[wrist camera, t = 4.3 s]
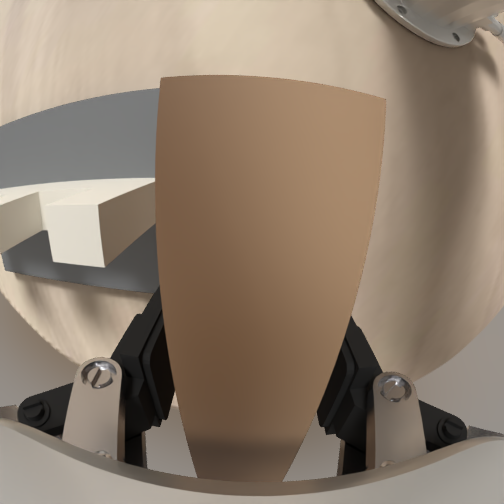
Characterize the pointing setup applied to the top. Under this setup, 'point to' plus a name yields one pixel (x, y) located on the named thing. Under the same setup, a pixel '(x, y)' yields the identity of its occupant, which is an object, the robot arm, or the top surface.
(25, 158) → the slotted base
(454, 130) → the top surface
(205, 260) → the walnut plate
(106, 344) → the top surface
